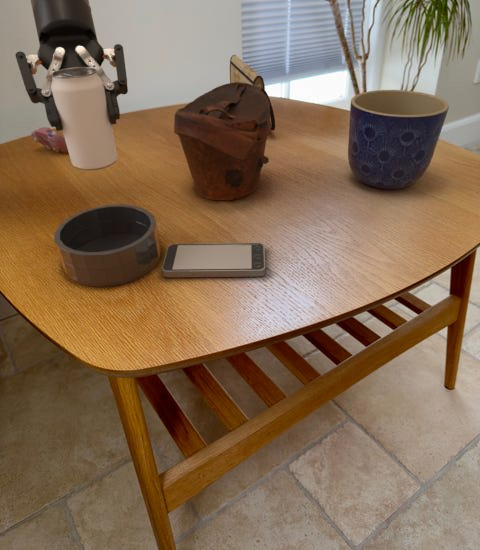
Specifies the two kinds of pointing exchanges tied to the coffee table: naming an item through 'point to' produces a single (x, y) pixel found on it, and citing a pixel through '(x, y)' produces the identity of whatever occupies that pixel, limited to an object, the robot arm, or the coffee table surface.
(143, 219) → the bowl
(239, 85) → the case
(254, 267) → the smartphone
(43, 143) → the raw meat chunk
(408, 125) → the planter
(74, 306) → the coffee table surface
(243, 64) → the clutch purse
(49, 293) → the coffee table surface
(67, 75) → the can
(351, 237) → the coffee table surface
